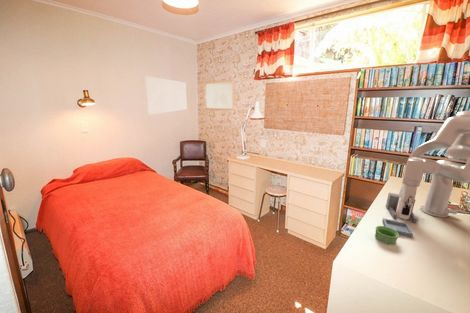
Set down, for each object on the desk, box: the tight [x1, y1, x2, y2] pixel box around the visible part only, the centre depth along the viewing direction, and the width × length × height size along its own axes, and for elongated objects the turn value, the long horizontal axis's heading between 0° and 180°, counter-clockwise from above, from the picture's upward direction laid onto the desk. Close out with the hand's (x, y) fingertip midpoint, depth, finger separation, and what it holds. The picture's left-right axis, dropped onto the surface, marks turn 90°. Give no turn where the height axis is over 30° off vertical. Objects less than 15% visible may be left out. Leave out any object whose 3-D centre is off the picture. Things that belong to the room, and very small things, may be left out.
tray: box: [382, 217, 414, 239], centre depth 112 cm, size 11×11×2 cm
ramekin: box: [374, 225, 400, 245], centre depth 103 cm, size 9×9×4 cm
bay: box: [385, 192, 418, 224], centre depth 127 cm, size 12×16×9 cm
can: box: [395, 198, 414, 220], centre depth 124 cm, size 6×6×12 cm
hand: (403, 211), depth 125 cm, fingers closed on can, 6 cm apart
